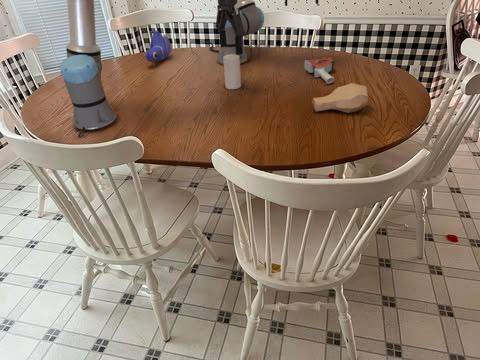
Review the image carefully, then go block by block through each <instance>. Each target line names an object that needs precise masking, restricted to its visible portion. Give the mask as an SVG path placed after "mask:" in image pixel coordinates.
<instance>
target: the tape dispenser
mask: <svg viewBox="0 0 480 360" xmlns="http://www.w3.org/2000/svg"><path fill="white" fill-rule="evenodd" d="M320 61H323V62H320ZM334 65H335V59H333V57H332V56H328V57H321V58H315V59H309V60H308V59H305V60H304V70H305V71H307V73H310V74H312V73H314V78H322V79H323V81H325V84H327V85H329V84H332V83H333V82H334V81H335V77H334V76H332V75H331V74H329V73H330V72H331V73H332V72H333V70H334Z"/></svg>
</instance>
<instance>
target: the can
mask: <svg viewBox="0 0 480 360" xmlns="http://www.w3.org/2000/svg"><path fill="white" fill-rule="evenodd" d="M223 63H224V65H223V75H224V85H225V86H224V87H225V89H228V90H237V89H240V88H241V87H242V78H241V77H242V76H241V75H242V74H241V64H240V56H239V55H235V54H230V55H225V56H224V57H223Z"/></svg>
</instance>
